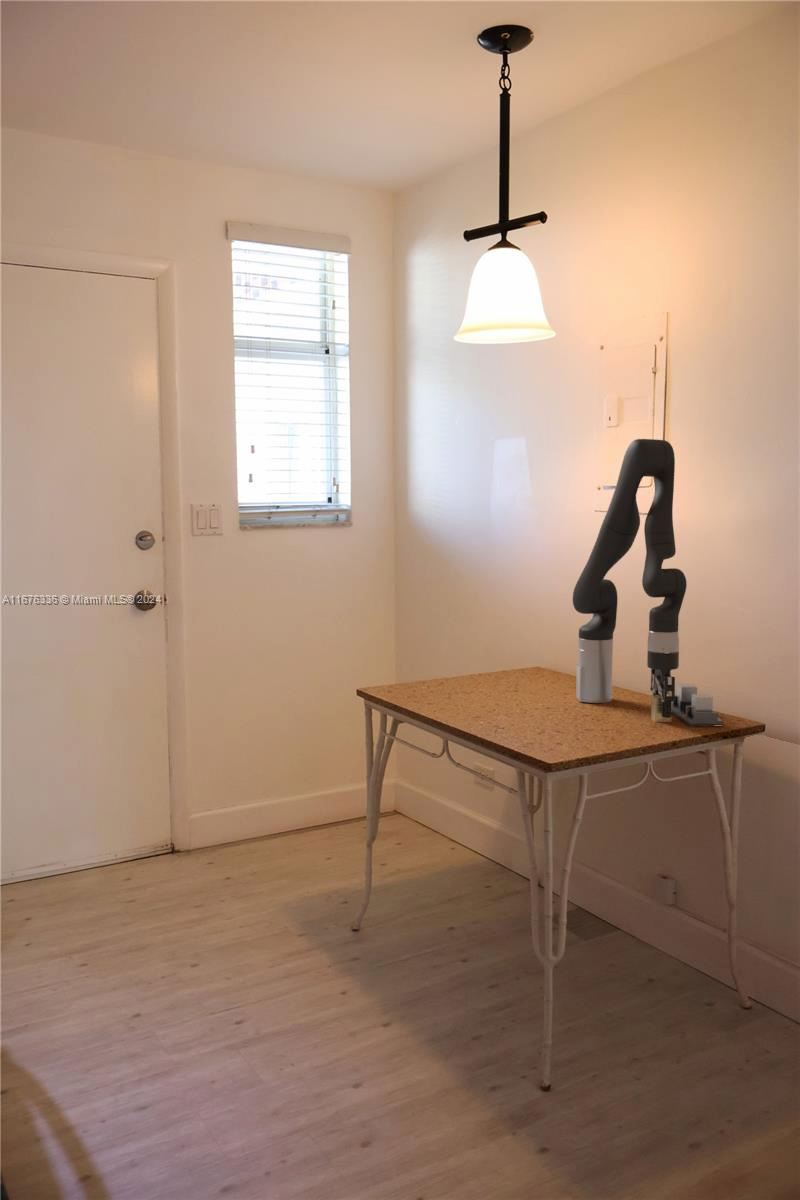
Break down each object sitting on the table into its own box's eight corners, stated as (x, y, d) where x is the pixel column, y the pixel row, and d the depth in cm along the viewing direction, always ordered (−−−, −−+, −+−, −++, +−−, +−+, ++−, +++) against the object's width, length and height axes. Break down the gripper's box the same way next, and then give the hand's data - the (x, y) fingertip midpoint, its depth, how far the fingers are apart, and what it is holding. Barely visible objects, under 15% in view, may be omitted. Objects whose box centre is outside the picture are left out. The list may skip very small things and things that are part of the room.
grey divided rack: (689, 726, 239) (690, 699, 238) (667, 708, 260) (668, 683, 259) (722, 726, 239) (723, 699, 238) (697, 708, 260) (698, 683, 259)
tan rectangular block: (654, 721, 245) (655, 698, 244) (651, 718, 249) (651, 694, 248) (671, 722, 245) (671, 698, 244) (667, 718, 248) (667, 694, 248)
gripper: (641, 645, 252) (640, 708, 253) (655, 653, 238) (653, 719, 239) (670, 645, 252) (669, 707, 253) (686, 653, 238) (684, 719, 239)
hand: (661, 713), depth 246 cm, fingers open, 8 cm apart
